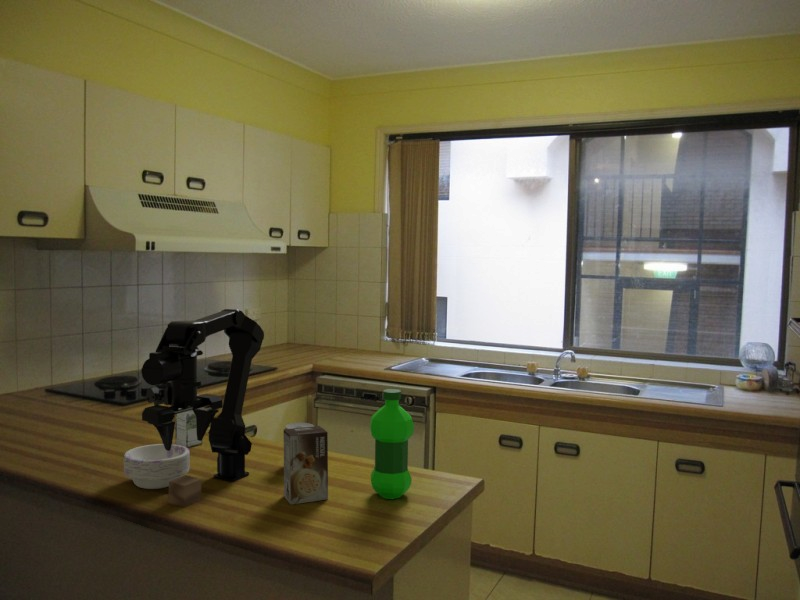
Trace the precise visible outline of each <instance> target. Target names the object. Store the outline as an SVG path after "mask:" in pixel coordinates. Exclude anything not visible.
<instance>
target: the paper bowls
mask: <svg viewBox="0 0 800 600" xmlns="http://www.w3.org/2000/svg"><path fill="white" fill-rule="evenodd" d="M190 456H191V454H190V449H189V447H187V448H186V447H184V446H180V445H176V444H173V443H172V446H171V450H170V451H167V450H166V449H165V447H164V444H163V443H156V444H154V443H153V444H146V445H142V446H136V447H134V448H131V449H129V450H127V451H126V452H125V453H124V455H123V475H124V476H125V477H127V478H129V479H131V480H132V482H133V483H134V485H135V486H137V487H138V488H142V489H145V490H158V489H164V488H169V481H171V480H174V479H177V478H180V477H182V476H185V475H186V474H187V473H188V472H189V471H190V465H191V464H190V463H191V462H190V458H191V457H190Z"/></svg>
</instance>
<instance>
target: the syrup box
mask: <svg viewBox="0 0 800 600" xmlns="http://www.w3.org/2000/svg"><path fill="white" fill-rule="evenodd" d="M198 395H199V394H197V396H198ZM189 407H190V406H189ZM179 409H181V408H179ZM174 416H175V417H174V420H175V421H174V422H175V428H174V435H175V436H174V438H175V439H174V443H175V445H180V446H184V447H186V448H191V447H195V446H199V445H203V443H204V442H203V439H204V438H203V439H202V441H199V440H197V428H196V416H195V414H194V412H193V410H190V411H186V412H182V413H178V414H174Z"/></svg>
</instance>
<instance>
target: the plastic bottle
mask: <svg viewBox="0 0 800 600" xmlns="http://www.w3.org/2000/svg"><path fill="white" fill-rule="evenodd" d="M382 391H383V394H382V399H383V400H385V404H384V405H383V406H381V408H379V409H377V411H376V412H374V413H373V414H372V415H371V417H370V421H369V429H370V432H371V436H372V438H373V439H374V467H373V469H372V471H371V473H370V483H371V487H372V489H373V490H374V492H375V493H377V494H378V495H379V497H381V498H383V499H387V500H394V499H399V498H401V497H402V495H404V494H405V493H406V492H407V491H409V489H410V488H411V486H412V476H411V472H410V470H409V469H408V468H409V466H408V465H409V463H408V462H409V439H411V437H412V436H413V433H414V429H415V423H414V421H413V418H412V415H411V414H409V412H407V411H406V410H405V409H404V408H403V407H402V406H401V405H399V404H400V400H401V399H402V391H401V389H398V388H396V389H395V388H386V389H384V390H383V389H382Z"/></svg>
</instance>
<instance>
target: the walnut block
mask: <svg viewBox="0 0 800 600" xmlns="http://www.w3.org/2000/svg"><path fill="white" fill-rule="evenodd" d="M200 501H202V479H201V478H198V477H194V476H190V475H187V474H184V475H181V477H180V478H177V479H174V480H171V481H169V487H168V504H171V505H174V506H175V505H176V506H179V507H183V508H186V507H188V506H191V505H193V504H196V503H198V502H200Z"/></svg>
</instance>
